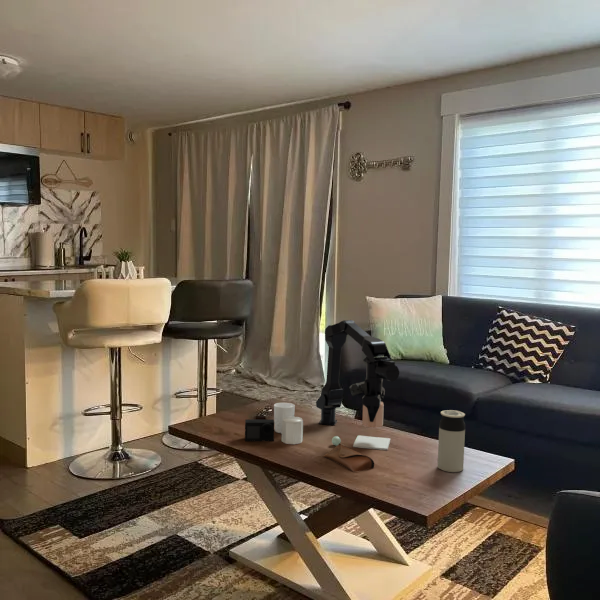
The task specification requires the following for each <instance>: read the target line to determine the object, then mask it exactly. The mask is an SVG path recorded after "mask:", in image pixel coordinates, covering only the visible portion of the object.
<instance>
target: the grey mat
mask: <svg viewBox="0 0 600 600" xmlns="http://www.w3.org/2000/svg"><path fill="white" fill-rule="evenodd" d="M390 443H391V438H389V437H378V436H370V435H369V436H367V435H357V437H356V439H355V440H354V442H353V445H352V447H353V448H359V449H371V450H381V451H388V450H389V446H390Z"/></svg>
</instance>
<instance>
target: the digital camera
mask: <svg viewBox="0 0 600 600" xmlns="http://www.w3.org/2000/svg"><path fill="white" fill-rule="evenodd" d="M244 422H245V423H244V441H245V442H274V440H275V423H274V418H273V419H258V418H257V419H256V418H255V419H254V418H253V419H245V420H244Z"/></svg>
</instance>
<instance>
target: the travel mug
mask: <svg viewBox="0 0 600 600" xmlns="http://www.w3.org/2000/svg"><path fill="white" fill-rule="evenodd" d="M440 415H441V419H440V421H439V426H438V444H437V445H438V447H437V449H438V451H437V468H438V469H440V470H442V471H444V472H447V473H460V472H461V471H463V470H464V463H465V462H464V461H465V459H464V458H465V437H466V436H465V435H466V423H465V420H464V417H465V416H466V413H464V412H462V411H460V410H453V409H449V410H448V409H447V410H442V411H440Z"/></svg>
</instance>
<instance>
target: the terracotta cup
mask: <svg viewBox="0 0 600 600" xmlns="http://www.w3.org/2000/svg"><path fill="white" fill-rule="evenodd" d="M384 406H385V405H384V402H383V401H382V402H381V403H380V407H379V409H378V412H377V414H376V416H375V419H374V421H373V422H370V419H369V414H368V410H367V407H366V406H364V405H363V404H362V421H361V422H362V423H361V425H362V426H364V427H366V428H375V429H377V428H382V427H383V425H384Z"/></svg>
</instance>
